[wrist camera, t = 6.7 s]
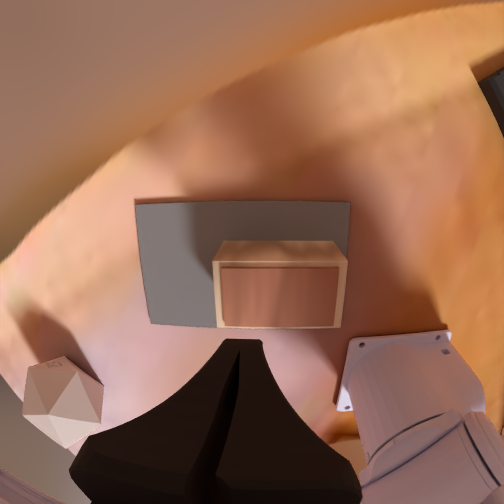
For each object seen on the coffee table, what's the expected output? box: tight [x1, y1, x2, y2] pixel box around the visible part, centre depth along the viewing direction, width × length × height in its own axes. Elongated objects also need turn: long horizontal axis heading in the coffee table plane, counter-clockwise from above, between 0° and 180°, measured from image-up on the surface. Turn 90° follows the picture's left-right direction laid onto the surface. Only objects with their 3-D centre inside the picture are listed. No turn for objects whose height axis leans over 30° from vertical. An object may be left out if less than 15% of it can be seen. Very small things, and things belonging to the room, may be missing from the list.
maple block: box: [212, 241, 348, 329], centre depth 18 cm, size 4×4×7 cm
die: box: [22, 356, 104, 449], centre depth 21 cm, size 8×9×10 cm
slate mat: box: [135, 201, 350, 329], centre depth 20 cm, size 14×9×1 cm, turn 91°
